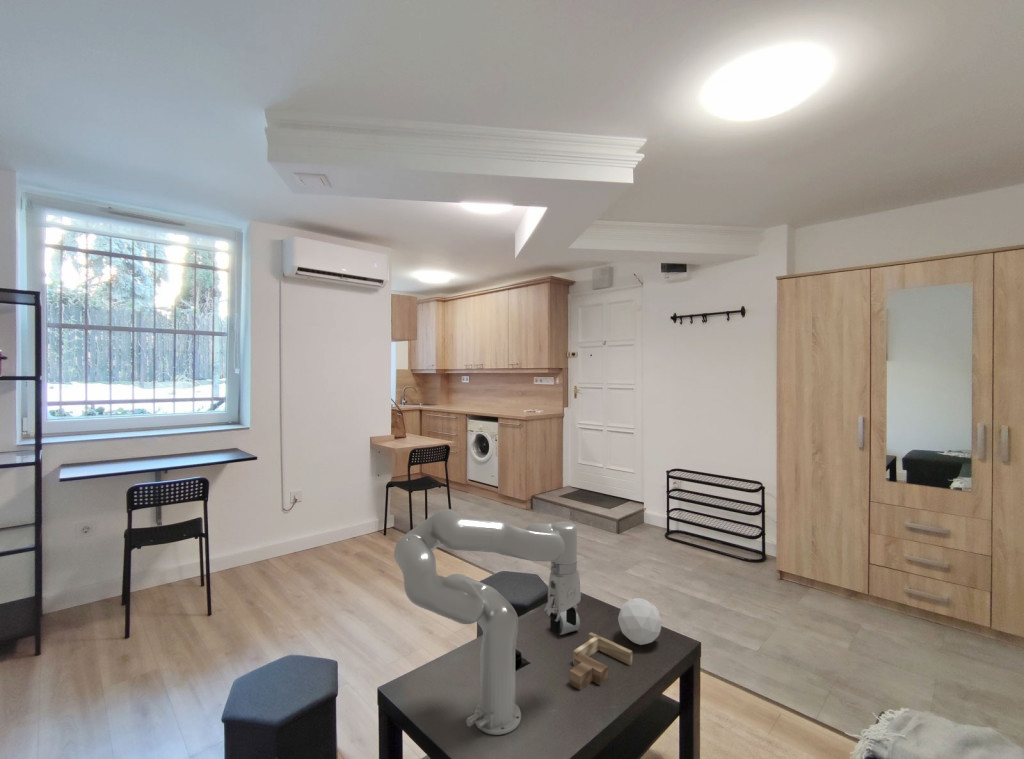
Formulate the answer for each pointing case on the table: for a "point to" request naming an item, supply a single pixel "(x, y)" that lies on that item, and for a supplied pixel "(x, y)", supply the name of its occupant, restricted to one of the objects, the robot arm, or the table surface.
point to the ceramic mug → (566, 626)
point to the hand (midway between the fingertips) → (563, 627)
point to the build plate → (519, 661)
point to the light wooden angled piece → (604, 649)
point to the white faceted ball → (640, 621)
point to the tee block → (587, 672)
